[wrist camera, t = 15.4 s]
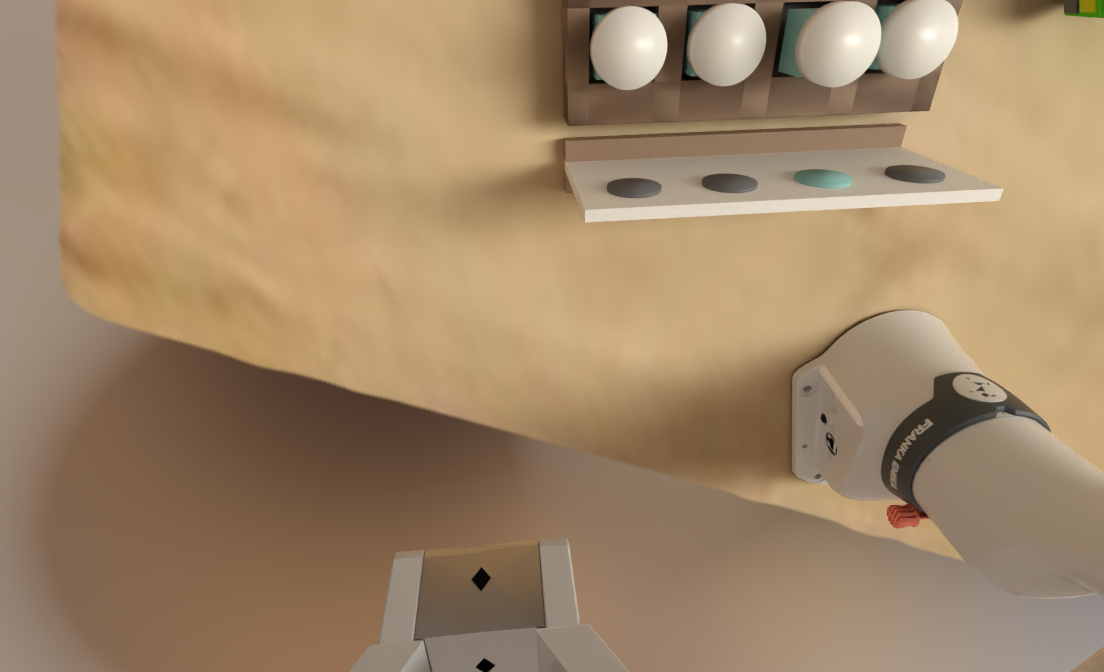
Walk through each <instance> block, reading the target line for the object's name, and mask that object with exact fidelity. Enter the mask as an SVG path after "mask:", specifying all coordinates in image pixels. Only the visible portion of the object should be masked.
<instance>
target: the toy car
mask: <svg viewBox="0 0 1104 672" xmlns="http://www.w3.org/2000/svg"><path fill="white" fill-rule="evenodd" d="M1064 13H1065V15H1070V16H1084V17H1098V18H1104V0H1064Z"/></svg>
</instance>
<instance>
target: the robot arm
mask: <svg viewBox="0 0 1104 672" xmlns="http://www.w3.org/2000/svg"><path fill="white" fill-rule="evenodd" d="M806 386H807V387H806ZM805 387H806V388H805ZM792 471H793V473H794V474H795V475H796V476H797V477H798V478H800V479H802V480H805V481H808V482H812V483H817V484H829V486H830V487H831V488H832V489H833V490H834V491H836V492H837V493H838V494H840V495H842V496H844V497H846V498H849V499H853V500H859V501H888V500H900V499H902V500H903V501H905V502H906V503H908V504H906V505H904V506H899V505H890V506H889V507H888V508H887V516H888V520H889V521H890V524H891V525H893V527H894V528H897V529H898V528H904V527H907V526H912V527H916V526H918V524H919V522H920V519H931V520H932V521H933V523H934V524H935V525H936V526H937V528H938V529H939V530H940V531H941V533H942V534H943V535H944V536H945V537H946V539H947V540H948V541H949V542H950V544H951V545H952V546H953V547H954V548H955V550H956V551H957V552H958V553H959V555H960V556H961V557H962V558H963V560H964V561H965V562H966V563H967V564H968V566H969V567H970V568H971V569H972V570H973V572H974V573H975V574H977V575H978V576H979V577H981V578H982V579H984V580H985V581H986V582H988V583H989V584H991V585H993V586H995V587H997V588H998V589H1001V590H1003V591H1005V592H1008V593H1010V594H1013V595H1017V596H1021V597H1026V598H1034V599H1058V598H1071V597H1078V596H1084V595H1090V594H1098V595H1099V596H1100V597H1102V598H1103V599H1104V472H1103V471H1102V470H1100V469H1099V468H1097V467H1096V466H1094V465H1093V464H1092V463H1090V462H1089V461H1087V460H1086V459H1085V458H1083V457H1082V456H1080V455H1079V454H1078V453H1076V452H1075V451H1074V450H1072V449H1071V448H1070V447H1068V446H1067V445H1066V444H1064V443H1063V442H1062V441H1061V440H1059V439H1058V438H1057V437H1056V436H1054V435H1053V434H1052V433H1051V431H1050V428H1049V426H1048V425H1047V423H1046V422H1045V421H1044V420H1043V419H1042V418H1041V417H1040V416H1039V415H1037V414H1036V413H1035V412H1034V411H1033V410H1032V409H1030V408H1029V407H1028V406H1027V405H1026V404H1024V403H1023V402H1022V401H1021V400H1019V399H1018V398H1017V397H1016V396H1014V395H1013V394H1012V393H1011V392H1009V391H1008V390H1006V389H1005V388H1003V387H1001V386H1000V385H998V384H997V383H995V382H994V381H992V380H990V379H989V378H988V377H987V376H986V375H985V374H984V373H983V372H982V371H981V370H980V369H979V368H978V367H977V366H976V364H975V363H974V361H973V360H972V359H971V358H970V357H969V356H968V355H967V354H966V353H965V352H964V351H963V349H962V348H961V347H960V346H959V344H958V343H957V341H956V340H955V339H954V337H953V336H952V334H951V332H950V331H949V329H948V328H947V326H946V325H945V324H944V323H943V322H942V321H941V320H940V319H938V318H937V317H935V316H933V315H931V314H928V313H925V312H921V311H914V310H902V311H894V312H889V313H885V314H882V315H879V316H876V317H873V318H871V319H868V320H866V321H864V322H862V323H860V324H859V325H857V326H855V327H854V328H852V329H851V330H849V331H848V332H846V333H845V334H844V335H843V336H841V337H840V338H839V339H838V340H837V341H836V342H835V343H834V344H833V345H832V346H831V347H830V348H829V349H828V350H827V351H826V352H825V353H824V354H822V355H821V356H820V357H818V358H816V359H814V360H813V361H811V362H809V363H807V364H805V365H804V366H802V367H801V368H799V369H798V370H797V371H796V372H795V373H794V375H793V377H792ZM348 672H629V671H628V670H627V669H626V668H625V666H624V665H623V664H622V663H621V661H620V660H619V659H618V658H617V657H616V656H615V655H614V653H613V652H612V651H611V650H610V648H609V647H608V646H607V645H606V644H605V643H604V641H603V640H602V639H601V638H600V637H599V636H598V634H597V633H596V632H595V631H594V630H593V628H592V627H591V626H590V625H589V624H580V621H579V613H578V606H577V599H576V592H575V584H574V577H573V570H572V563H571V555H570V548H569V542H568V540H567V538H555V539H544V540H539V542H538V540H527V541H517V542H509V543H498V544H488V545H483V546H480V547H464V548H447V549H430V550H416V551H404V552H397V553H396V555H395V557H394V560H393V562H392V568H391V574H390V580H389V585H388V591H387V597H386V603H385V608H384V614H383V620H382V626H381V631H380V637H379V643H378V644H375V645H369V646H368V647H367V649H366V650H365V651H364V652H363V654H362V655H361V656H360V658H359V659H358V660H357V661H356V663H355V664H354V665H353V666H352V668H351V669H350V670H349V671H348ZM1070 672H1104V647H1103V648H1101V649H1100V650H1098V651H1097V652H1096V653H1094V654H1093V655H1092V656H1090V657H1089V658H1088V659H1086V660H1085V661H1084V662H1082V663H1081V664H1080V665H1078V666H1077V667H1076V668H1074V669H1073V670H1072V671H1070Z"/></svg>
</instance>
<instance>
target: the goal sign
mask: <svg viewBox="0 0 1104 672" xmlns="http://www.w3.org/2000/svg"><path fill="white" fill-rule="evenodd" d="M906 127H907V126H905V125H902V124H899V123H898V124H875V125H852V126H829V127H806V128H782V129H759V130H736V131H713V132H690V133H667V134H644V135H621V136H598V137H574V138H564V169H565V191H566V193H571V192H573V193H574V195H575V198H576V200H577V203H578V206H579V208H580V211H581V213H582V216H583V219H584V221H585V222H603V221H622V220H641V219H660V218H679V217H698V216H717V215H736V214H755V213H774V212H793V211H812V210H831V209H850V208H869V207H888V206H907V205H926V204H945V203H964V202H983V201H999V199H1000V197H1001V194H1002V192H1003V189H1004V188H1001V187H999V186H996V185H994V184H991V183H989V182H987V181H984V180H982V179H979V178H977V177H974V176H972V175H969V174H967V173H964V172H962V171H959V170H957V169H954V168H952V167H949V166H947V165H944V164H942V163H939V162H937V161H934V160H932V159H929V158H927V157H925V156H922V155H920V154H917V153H915V152H912V151H910V150H907V149H905V148H902V147H901V144H902V141H903V137H904V134H905V130H906Z"/></svg>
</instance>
